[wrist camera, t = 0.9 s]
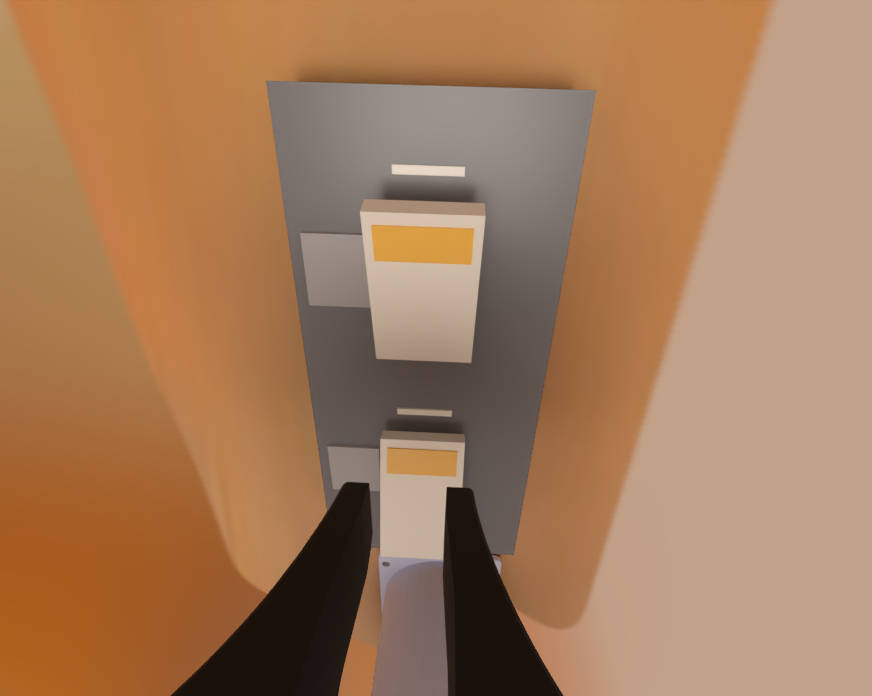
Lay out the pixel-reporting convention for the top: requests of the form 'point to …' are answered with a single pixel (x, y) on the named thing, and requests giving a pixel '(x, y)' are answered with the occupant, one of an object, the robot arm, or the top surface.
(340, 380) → the switch strip
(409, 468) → the block
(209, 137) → the top surface
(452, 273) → the plate
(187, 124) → the top surface
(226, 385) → the top surface
